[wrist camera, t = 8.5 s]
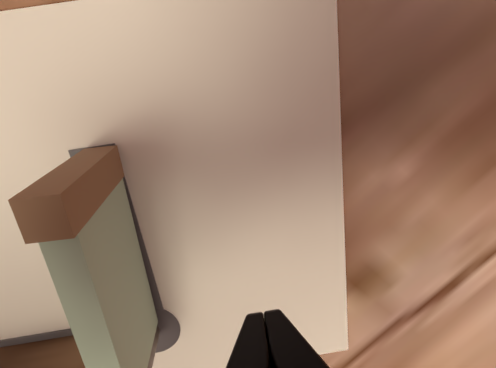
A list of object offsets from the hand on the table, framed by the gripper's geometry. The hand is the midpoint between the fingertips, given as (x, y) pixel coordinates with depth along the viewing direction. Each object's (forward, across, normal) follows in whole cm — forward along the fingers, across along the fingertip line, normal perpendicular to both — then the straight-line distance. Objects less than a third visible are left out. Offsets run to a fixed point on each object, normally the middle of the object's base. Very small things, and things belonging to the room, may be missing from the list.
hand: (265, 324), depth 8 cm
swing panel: (+8, +6, +1) cm, 10 cm away
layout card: (+8, +6, +1) cm, 11 cm away
